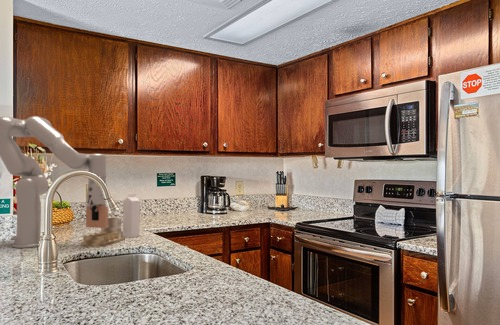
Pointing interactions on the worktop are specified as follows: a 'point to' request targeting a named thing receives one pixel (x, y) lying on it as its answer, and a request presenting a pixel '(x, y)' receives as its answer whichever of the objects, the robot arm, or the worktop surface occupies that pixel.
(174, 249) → the worktop surface
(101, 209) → the pink square slab
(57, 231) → the worktop surface
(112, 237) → the rack
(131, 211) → the milk
